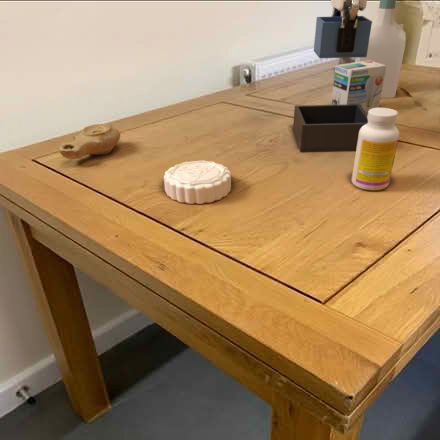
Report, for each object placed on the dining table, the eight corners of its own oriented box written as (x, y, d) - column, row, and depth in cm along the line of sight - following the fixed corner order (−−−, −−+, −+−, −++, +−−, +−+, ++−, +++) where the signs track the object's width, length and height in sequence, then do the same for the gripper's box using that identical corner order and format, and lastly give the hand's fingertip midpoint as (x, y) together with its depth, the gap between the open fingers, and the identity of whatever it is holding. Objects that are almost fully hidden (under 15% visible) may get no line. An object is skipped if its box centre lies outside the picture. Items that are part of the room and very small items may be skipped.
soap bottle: (355, 99, 127) (373, -22, 110) (350, 91, 133) (366, -25, 116) (396, 99, 126) (420, -23, 109) (389, 91, 132) (411, -26, 116)
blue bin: (358, 50, 94) (363, 15, 91) (366, 57, 89) (372, 21, 85) (313, 50, 95) (316, 16, 91) (319, 58, 89) (322, 22, 85)
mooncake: (188, 171, 91) (187, 153, 89) (242, 183, 86) (242, 164, 84) (151, 196, 83) (149, 177, 81) (209, 210, 78) (208, 190, 76)
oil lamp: (59, 168, 94) (53, 143, 91) (79, 142, 106) (75, 120, 102) (111, 168, 94) (107, 143, 91) (126, 142, 105) (122, 120, 102)
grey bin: (355, 129, 108) (359, 104, 105) (370, 150, 98) (374, 123, 94) (292, 130, 109) (294, 105, 105) (300, 152, 98) (302, 125, 95)
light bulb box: (344, 117, 115) (351, 70, 109) (329, 109, 120) (334, 64, 114) (379, 110, 119) (387, 64, 112) (362, 104, 124) (370, 59, 117)
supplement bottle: (394, 191, 83) (410, 116, 75) (357, 193, 82) (370, 118, 74) (380, 175, 88) (395, 104, 80) (346, 177, 88) (357, 106, 80)
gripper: (390, -68, 73) (370, 57, 84) (364, -68, 87) (349, 39, 98) (342, -67, 73) (329, 58, 84) (323, -67, 87) (314, 40, 98)
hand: (340, 47), depth 91 cm, fingers closed on blue bin, 7 cm apart
